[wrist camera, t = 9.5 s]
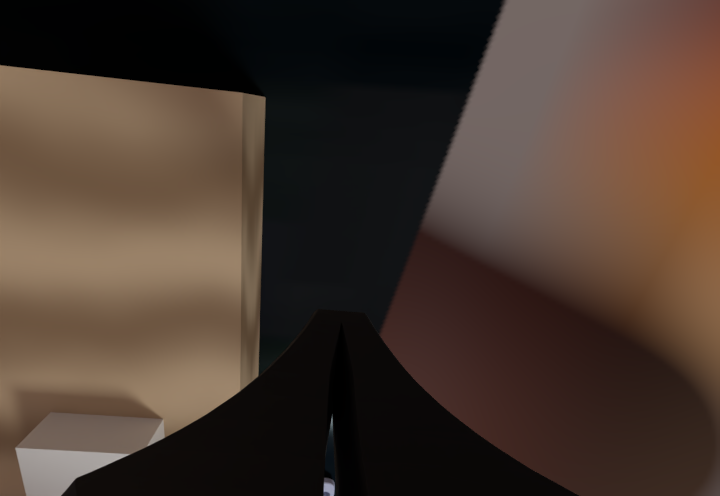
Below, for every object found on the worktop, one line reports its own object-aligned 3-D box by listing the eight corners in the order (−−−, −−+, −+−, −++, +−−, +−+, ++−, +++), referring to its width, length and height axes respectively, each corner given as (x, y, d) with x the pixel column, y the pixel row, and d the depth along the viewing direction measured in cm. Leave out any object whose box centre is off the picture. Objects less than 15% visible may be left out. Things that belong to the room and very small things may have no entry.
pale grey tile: (169, 498, 20) (149, 539, 18) (65, 493, 19) (35, 534, 17) (163, 418, 18) (141, 454, 16) (50, 412, 18) (15, 447, 16)
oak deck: (256, 446, 24) (239, 508, 20) (51, 434, 23) (-7, 497, 19) (265, 97, 17) (242, 93, 14) (-19, 65, 17) (-127, 50, 13)
